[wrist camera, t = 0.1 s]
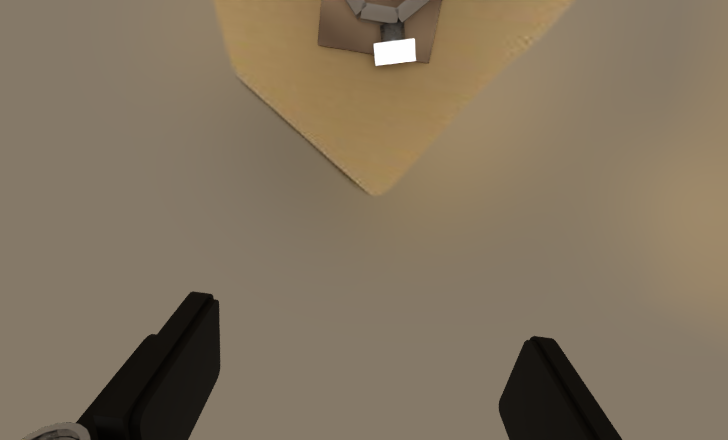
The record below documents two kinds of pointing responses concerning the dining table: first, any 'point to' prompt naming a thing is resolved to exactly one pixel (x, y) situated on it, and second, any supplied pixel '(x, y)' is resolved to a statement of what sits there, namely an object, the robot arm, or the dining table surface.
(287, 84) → the dining table surface
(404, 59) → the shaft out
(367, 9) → the octagonal gimbal ring stand
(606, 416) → the robot arm
